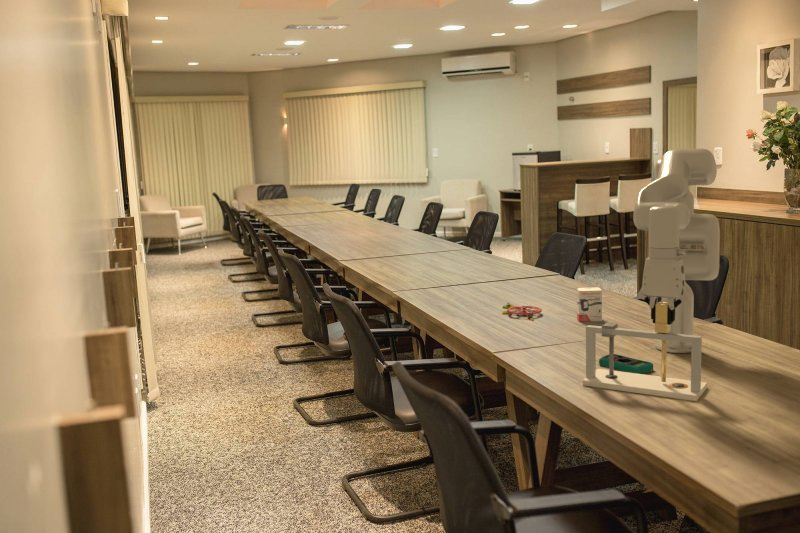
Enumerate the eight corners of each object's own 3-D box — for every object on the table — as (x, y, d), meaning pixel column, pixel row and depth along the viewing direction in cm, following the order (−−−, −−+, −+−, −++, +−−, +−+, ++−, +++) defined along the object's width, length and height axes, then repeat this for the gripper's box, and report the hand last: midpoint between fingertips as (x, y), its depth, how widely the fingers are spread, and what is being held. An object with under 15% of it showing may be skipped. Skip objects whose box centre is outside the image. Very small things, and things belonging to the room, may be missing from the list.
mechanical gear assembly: (514, 323, 294) (552, 321, 296) (514, 312, 293) (553, 310, 295) (492, 307, 323) (527, 305, 325) (492, 296, 322) (527, 295, 325)
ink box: (578, 321, 290) (578, 290, 288) (576, 318, 295) (576, 287, 293) (602, 321, 290) (602, 289, 288) (599, 318, 294) (599, 287, 293)
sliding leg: (658, 379, 213) (659, 301, 209) (670, 381, 211) (671, 302, 208) (654, 384, 209) (655, 304, 206) (665, 385, 208) (666, 305, 204)
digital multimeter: (613, 361, 241) (613, 352, 240) (654, 371, 229) (654, 361, 228) (597, 366, 236) (597, 356, 236) (638, 377, 225) (638, 367, 224)
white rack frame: (597, 373, 228) (597, 316, 225) (707, 387, 211) (708, 326, 209) (582, 385, 218) (582, 326, 215) (696, 401, 201) (697, 337, 199)
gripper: (700, 253, 203) (698, 322, 206) (636, 250, 212) (636, 317, 215) (692, 257, 197) (691, 329, 200) (627, 254, 206) (627, 323, 209)
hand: (662, 322), depth 207 cm, fingers closed on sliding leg, 3 cm apart
